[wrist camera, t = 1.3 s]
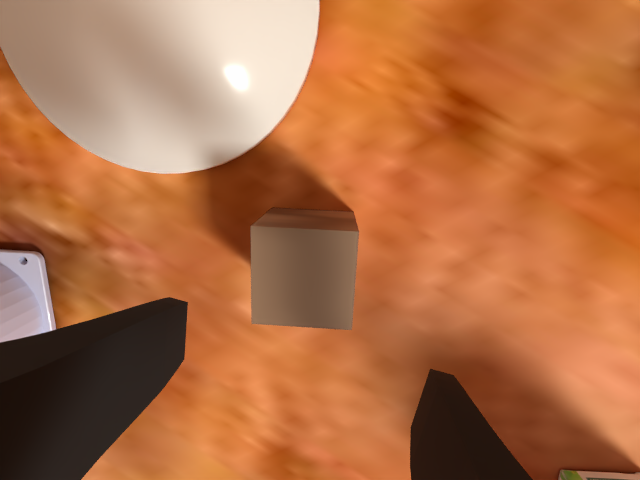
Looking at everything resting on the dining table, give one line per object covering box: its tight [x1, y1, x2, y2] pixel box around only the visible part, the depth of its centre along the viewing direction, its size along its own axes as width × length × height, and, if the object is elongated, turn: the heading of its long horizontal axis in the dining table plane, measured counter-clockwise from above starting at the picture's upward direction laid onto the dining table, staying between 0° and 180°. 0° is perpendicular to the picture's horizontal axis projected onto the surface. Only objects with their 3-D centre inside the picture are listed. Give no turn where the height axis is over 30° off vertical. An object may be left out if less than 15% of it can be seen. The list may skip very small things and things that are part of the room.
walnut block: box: [251, 208, 359, 330], centre depth 17 cm, size 5×5×5 cm
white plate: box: [0, 0, 320, 174], centre depth 16 cm, size 16×16×1 cm
